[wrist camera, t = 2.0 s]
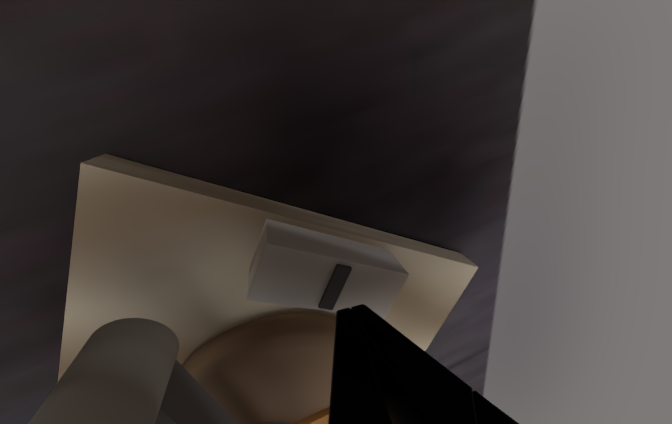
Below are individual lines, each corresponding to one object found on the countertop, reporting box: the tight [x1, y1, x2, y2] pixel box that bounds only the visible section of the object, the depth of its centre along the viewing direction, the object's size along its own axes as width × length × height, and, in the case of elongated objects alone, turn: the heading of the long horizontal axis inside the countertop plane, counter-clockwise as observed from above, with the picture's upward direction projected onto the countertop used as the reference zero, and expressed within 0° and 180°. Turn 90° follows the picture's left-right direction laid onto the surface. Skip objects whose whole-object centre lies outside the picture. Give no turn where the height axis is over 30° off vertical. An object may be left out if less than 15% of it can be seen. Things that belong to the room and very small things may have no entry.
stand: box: [58, 154, 479, 381], centre depth 14 cm, size 18×18×4 cm
